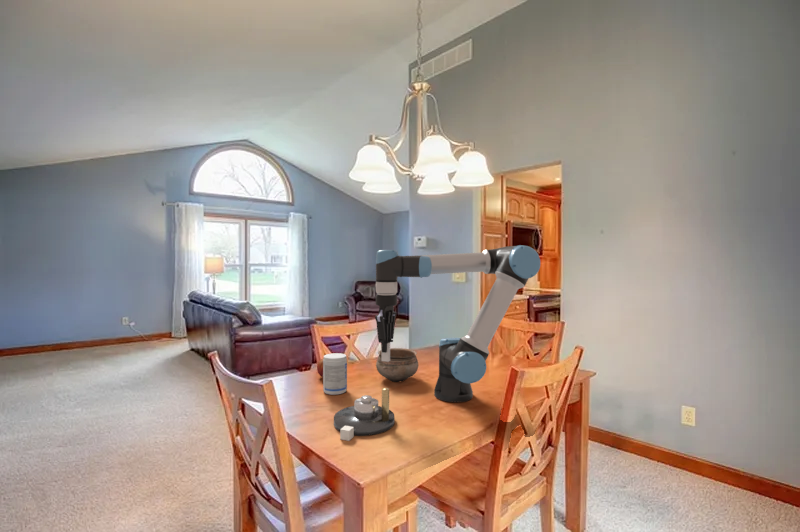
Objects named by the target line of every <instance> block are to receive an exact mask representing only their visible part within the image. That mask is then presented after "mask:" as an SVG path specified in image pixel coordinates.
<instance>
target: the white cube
mask: <svg viewBox="0 0 800 532" xmlns="http://www.w3.org/2000/svg"><path fill="white" fill-rule="evenodd" d="M339 435H340V436H339V437H340V438H339V439H340V440H343V441H347V442H350V441H351V440H352V439H353V438H354V437H355V435H354V427H351V426H344V427H343V428H341V429H340V431H339Z"/></svg>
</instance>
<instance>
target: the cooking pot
mask: <svg viewBox="0 0 800 532" xmlns="http://www.w3.org/2000/svg"><path fill="white" fill-rule="evenodd" d="M381 350H382V349H380V350H378V351H377V353H378V356H377V358H376V364H375V366H376V367H375V368H376V370H377V372H378V373H379V374H380V375H381V377H383V378H385V379H387V380H388V381H390V382H393V383H400V382H402V383H403V382H404V381H406V380H408V379H410V378H411V377H413V376H414V375H415V374H416V373H417V372H418V370H419V360H418V357H417V354H418V353H417V351H415V350H413V349H409V348H402V347H398V348H397V347H393V348H391V347H390V361H389V362H386V361H381Z"/></svg>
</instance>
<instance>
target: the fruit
mask: <svg viewBox="0 0 800 532" xmlns="http://www.w3.org/2000/svg"><path fill="white" fill-rule="evenodd" d="M323 359H324V357H323V358H322V359H319V361H318V362H317V365H316V370H317V373H318V375H319V376H320V377H321V378H323Z"/></svg>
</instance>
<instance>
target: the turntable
mask: <svg viewBox="0 0 800 532" xmlns="http://www.w3.org/2000/svg"><path fill="white" fill-rule="evenodd" d="M394 425H395V414H394V412H393V411H392V410H391V409H390V388H388V387H383V388H381V406H380V405H378V417H376V418H374V419H370V420H361V419H357V418H355V416H354V405H351V406H348V407H344V408H342V409H340V410H339V411H337V412H335V414H334V415H333V426H334V428H335V429H336V430H337V431H338V432H340V429H341V428H343V427H344V426H351V427H354V436H358V437H359V436H361V437H362V436H363V437H364V436H373V435H379V434H382V433H385V432H387V431H389V430H390V429H392V428H393V427H394Z"/></svg>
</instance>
